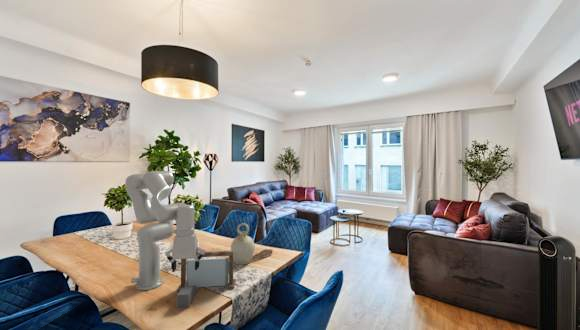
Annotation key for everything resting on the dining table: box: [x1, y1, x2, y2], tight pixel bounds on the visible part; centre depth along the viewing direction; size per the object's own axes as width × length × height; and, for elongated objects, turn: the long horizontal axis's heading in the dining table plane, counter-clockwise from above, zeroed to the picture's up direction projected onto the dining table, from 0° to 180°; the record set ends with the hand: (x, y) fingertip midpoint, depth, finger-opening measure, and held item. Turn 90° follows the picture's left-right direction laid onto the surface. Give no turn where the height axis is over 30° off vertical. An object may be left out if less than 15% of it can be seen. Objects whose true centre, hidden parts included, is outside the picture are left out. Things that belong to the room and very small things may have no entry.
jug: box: [230, 222, 256, 265], centre depth 153 cm, size 15×16×25 cm
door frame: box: [176, 250, 237, 294], centre depth 120 cm, size 28×8×18 cm, turn 98°
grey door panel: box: [186, 257, 229, 288], centre depth 120 cm, size 21×1×14 cm, turn 98°
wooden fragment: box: [250, 248, 274, 263], centre depth 162 cm, size 26×11×1 cm, turn 150°
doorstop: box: [176, 286, 198, 310], centre depth 109 cm, size 5×15×6 cm, turn 8°
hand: (185, 269), depth 105 cm, fingers open, 9 cm apart
